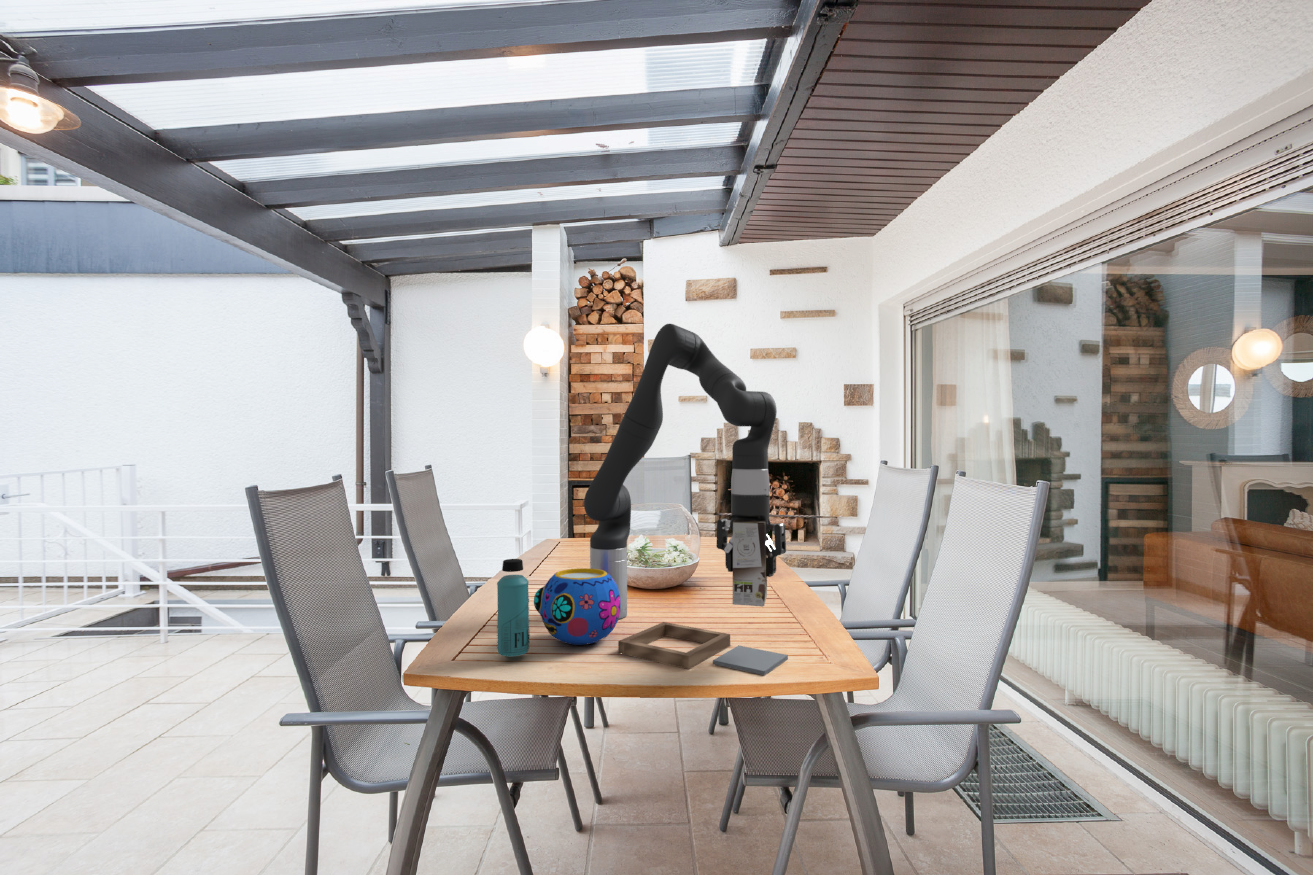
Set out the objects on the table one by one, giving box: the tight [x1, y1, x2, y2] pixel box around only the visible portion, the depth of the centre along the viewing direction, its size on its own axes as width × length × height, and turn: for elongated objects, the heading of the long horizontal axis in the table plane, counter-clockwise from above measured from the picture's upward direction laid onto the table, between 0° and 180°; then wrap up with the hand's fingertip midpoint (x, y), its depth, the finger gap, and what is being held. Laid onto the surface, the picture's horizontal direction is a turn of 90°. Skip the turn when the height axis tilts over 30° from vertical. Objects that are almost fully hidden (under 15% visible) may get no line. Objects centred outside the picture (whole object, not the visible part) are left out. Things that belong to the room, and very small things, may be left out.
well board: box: [617, 621, 731, 670], centre depth 137 cm, size 17×17×2 cm
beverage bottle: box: [496, 558, 531, 657], centre depth 131 cm, size 6×7×20 cm
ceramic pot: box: [533, 567, 621, 646], centre depth 142 cm, size 18×18×15 cm
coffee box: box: [732, 520, 768, 608], centre depth 130 cm, size 9×6×16 cm
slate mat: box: [712, 645, 789, 676], centre depth 129 cm, size 11×11×1 cm
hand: (750, 573), depth 130 cm, fingers closed on coffee box, 8 cm apart
